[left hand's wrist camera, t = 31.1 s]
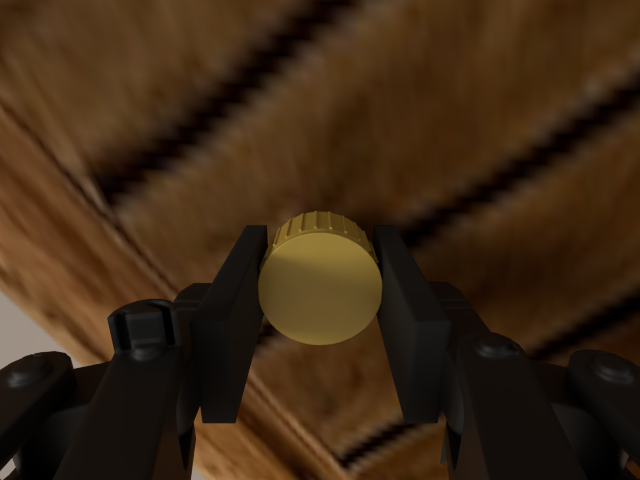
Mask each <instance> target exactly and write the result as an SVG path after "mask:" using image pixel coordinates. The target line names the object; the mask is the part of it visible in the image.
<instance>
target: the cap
mask: <svg viewBox="0 0 640 480" xmlns="http://www.w3.org/2000/svg"><path fill="white" fill-rule="evenodd" d="M377 263H379V262H378V259H377V256H376V254H375V251H374V248H373V246H372V243H371V241H370V242H369V240H368V238H367V236H366V233H365V231H362V230H361V229H360V228H359V227H358V226H357V225H356V223H355V222H352V221H351V220H349V219H347V218H345V217H344V216H343V215H342V216H341V215H338V214H335V213H331V212H317V211H315V212H310V213H306V214H303V213H302V214H301V215H299V216H297V217H295V218H293V219H289V221H288V222H287V223H285V224H284V225H283V226H282V227H279V228H278V231H277V233H276V234H275V235H274V237H271V240H270V242H269V245H268V248H267V249H266V252H265V255H264V258H263V260H262V263H261V266H260V274H259V278H258V292H259V303H260V306H261V308H262V311H263V313H264V314H265V316H266V318H267V319H268V320H269V322H270V323H271V324H272V325H273V326H274V327H275V328H276V329H277V330H278V331H280V332H281V333H282V334H284V335H286V336H287V337H289V338H291V339H293V340H296V341H299V342H302V343H307V344H314V345H327V344H334V343H338V342H342V341H344V340H347V339H349V338H351V337H353V336H355V335H356V334H358V333H359V332H361V331H362V330H363V329H364V328H365V327H367V326H368V324H369V323H370V322H371V321H372V320H373V318H374V317H375V315H376V313H377V311H378V309H379V307H380V304H381V296H382V277H381V273H380V270H379V267H378V264H377Z"/></svg>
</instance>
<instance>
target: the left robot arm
mask: <svg viewBox="0 0 640 480" xmlns="http://www.w3.org/2000/svg"><path fill="white" fill-rule="evenodd" d="M372 246H373V248H374V251H375V254H376V256H377V259H378V262H379V263H377V264H378V267H379V270H380V273H381V277H382V296H381V304H380V307H379V309H378V311H377V313H376V315H377V319H378V323H379V326H380V330H381V334H382V338H383V341H384V345H385V349H386V353H387V357H388V360H389V364H390V368H391V372H392V376H393V379H394V383H395V387H396V391H397V394H398V398H399V402H400V406H401V410H402V413H403V417H404V421H405V423H438V416H439V409H440V405H441V407H442V410H443V412H444V415H445V417H446V420H447V421H446V428H445V435H444V441H443V448H442V455H441V462H440V464H444V465H445V464H446V458H447V465H448V473H449V480H640V479H637V478H636V477H635V476H634V475H633V474H632V473H631V472H630V471H629V470H628V469H627V467H626V466H625V465H626V462H627V459H628V457H629V456H630V457H631V459H632V460H633V461H634V462H635V463H636V464H637V465H638V466H639V467H640V367H638V366H637V365H635V364H634V363H632V362H630V361H628V360H626V359H624V358H621V357H619V356H618V355H616V354H612V353H609V352H608V353H607V352H605V351H599V350H587V349H586V350H580V351H575V352H574V353H573V354H572V355H571V356H570V359H569V362H568V366H567V367H563V366H558V365H553V364H548V363H543V362H538V361H534V360H530V359H528V357H527V355H526V353H525V352H524V350H523V349H522V348H521V347H520V345H519V344H517V343H516V342H514V341H513V340H511V339H510V338H508V337H505V336H503V335H500V334H498V333H493V332H490V330H489V329H488V328H487V326H486V325H485V324H484V322H483V321H482V320H481V318H480V317H479V316H478V314H477V313H476V312H475V310H474V309H472V306H471V305H470V303H469V302H468V301H467V299H466V298H465V297H464V295H463V294H462V293H461V291H460V290H459V289H457V288H456V287H454V286H452V285H451V284H449V283H448V282H427V280H426V279H425V277H424V275H423V274H422V272H421V270H420V269H419V267H418V265H417V264H416V262H415V260H414V258H413V257H412V255H411V253H410V252H409V250H408V248H407V247H406V245H405V243H404V242H403V240H402V238H401V237H400V235H399V233H398V232H397V230H396V228H395V227H394V225H373V245H372ZM267 248H268V240H267V225H246V227H245V229H244V230H243V232H242V234H241V235H240V237H239V239H238V240H237V242H236V244H235V245H234V247H233V249H232V251H231V252H230V254H229V256H228V257H227V259H226V261H225V262H224V264H223V266H222V267H221V269H220V271H219V272H218V274H217V276H216V277H215V279H214V281H213V282H212V283H193V284H192V285H190V286H188V287H187V288H185V289H184V290H182V291H181V292H180V293H179V295H178V296H177V297H176V299H175V300H174V303H172V302H171V301H168V300H164V299H147V300H141V301H136V302H133V303H130V304H127V305H124V306H122V307H121V308H119V309H117V310H115V311H114V312H113V313H112V314H111V315H110V316H109V317H108V318H107V319H108V324H109V328H110V333H111V337H112V342H113V346H114V351H115V354H114V356H113V358H112V360H111V361H109V362H105V363H101V364H96V365H91V366H86V367H81V368H76V369H74V368H73V365H72V361H71V358H70V357H69V356H68V355H67V354H66V353H62V352H56V351H51V352H40V353H35V354H31V355H28V356H25V357H23V358H21V359H19V360H17V361H15V362H12V363H10V364H9V365H7V366H6V367H4V368H2V369H1V370H0V471H1V470H2V468H3V467H4V466H5V465H6V464H7V463H8V462H9V461H10V460H11V458H13V461H14V463H15V466H16V468H15V469H14V470H13V471H12V472H11V473H10V475H9V476H7V477H6V478H5V479H4V480H191V474H192V466H193V458H194V450H195V442H196V435H195V428H194V420H195V417H196V415H197V412H198V410H199V407H201V414H202V422H203V423H235V422H236V418H237V414H238V411H239V407H240V403H241V399H242V395H243V392H244V388H245V384H246V380H247V376H248V373H249V369H250V365H251V361H252V358H253V354H254V350H255V346H256V342H257V339H258V335H259V331H260V327H261V323H262V320H263V316H264V313H263V311H262V308H261V306H260V303H259V292H258V278H259V274H260V266H261V263H262V260H263V258H264V255H265V252H266V249H267ZM0 480H1V479H0Z"/></svg>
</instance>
